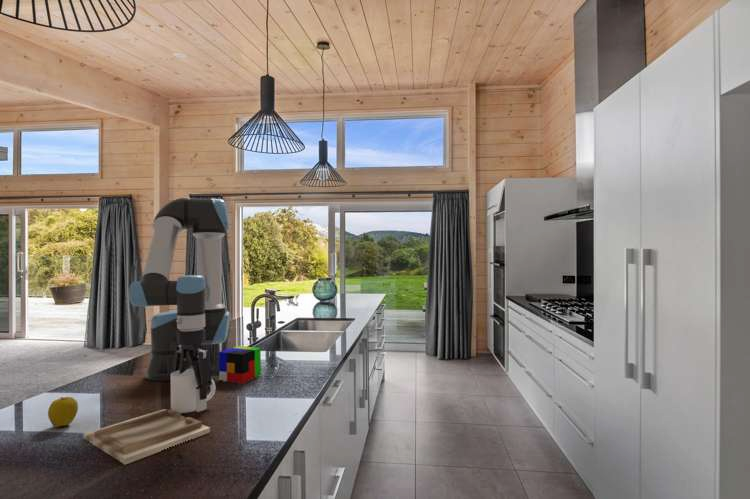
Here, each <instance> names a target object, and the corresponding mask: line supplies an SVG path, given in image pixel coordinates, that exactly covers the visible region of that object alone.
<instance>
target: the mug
mask: <svg viewBox="0 0 750 499" xmlns="http://www.w3.org/2000/svg"><path fill="white" fill-rule="evenodd" d="M211 380H212V385H211V386H210V392H209V394H207V398H206V402H208V401H209V400H211V399H212V398H213V397H214V395H215V393H216V383H215V381H214V380H213V378H211ZM207 382H208V381H207ZM196 387H198V385H197V381H196V378H195V374H194V370H193V368H192V369H187V370H186V371H184V372H183V373H181V374H180V370H178V371H175V372H173V373H171V380H170V409H172V410H174V411H177V412H179V413H181V414H187V413H192V412H196Z"/></svg>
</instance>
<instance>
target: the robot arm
mask: <svg viewBox="0 0 750 499" xmlns="http://www.w3.org/2000/svg"><path fill="white" fill-rule="evenodd" d="M229 220H230V219H229V213H228V207H227V204H226V201H225V200H224V199H221V198H213V197H211V198H210V197H207V198H205V197H204V198H203V197H197V198H196V197H195V198H193V197H192V198H190V197H180V198H176V199H173V200H171V201H169V202H168V203H167V204H165V205H163V207H161V209H159V210H158V212H157V214H156V215H155V217H154V219H153V223H152V229H153V231H154V232H153V235H152V239H151V243H150V246H149V250H148V254H147V257H146V260H145V265H144V269H143V272H142V276H141V279H140V280H138V281H133V282H132V283H131V284H130V286H129V289H128V299H129V302H130V304H131V306H134V307H145V308H146V307H155V306H157V307H159V306H176V309H173V310H168V311H162V312H159V313H156V314H154V315H152V317H151V321H150V322H151V323H150V346H151V347H150V349H151V350H150V351H151V353H150V354H151V355H150V358H149V362H148V363H147V364H148V365H147V367H146V371H145V379H146V380H148V381H153V382H166V381H171V373H173V372H175V371H178V370H180V374H181V373H183V372H184V371H186V370H187V369H193V370H194V374H195V378H196V381H197V385H198V387H196V411H195V412H197V413H200V412H203V411H205V410H207V409H208V408H207V401H206V398H207V395H208V394H207V393H208V391H207V389H208V387H211V385H212V380H213V379H212V375H211V369H210V368H211V367H210V360H209V356H210V355H209V352H210V351H209V350H208V349H205V350H204V349H203V347H202V345H213V346H214V345H216V344H217V345H218V344H223V343H225V342H226V340H227V337H228V331H229V327H230V318H231V317H230V316H231V313H230V311H228V310H226V307H227V306H226V305H225V304H223V303H222V239H223V238H224V237H225V235H226V231H228V230H230V221H229ZM183 230H189V231H190V230H192V231H191V234H192V236H193V237H194V238H195V239H196V274H195V275H193V274H189V275H188V274H187V275H179V276H178V277H177V279H176V280H169V278H170V273H171V269H172V264H173V259H174V256H175V250H176V245H177V241H178V236H179V235H180V234H181V233H182V231H183ZM211 379H212V380H211ZM207 381H208V382H207Z"/></svg>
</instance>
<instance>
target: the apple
mask: <svg viewBox="0 0 750 499" xmlns="http://www.w3.org/2000/svg"><path fill="white" fill-rule="evenodd" d="M78 409H79V405H78V401H77V400H76V399H75V398H73V397H71V396H65V397H63V396H61V397H59V398H57V399H55V400H54V401H53V402H51V404H50V405H49V407H48V409H47V410H48V411H47V417H48V419H49V421H50V424H51V425H52V426H54V427H55V428H56V427H57V428H58V427H63V426H64V427H65V426H68V425H70V424H71V423H72V422H73V421H74V420H75V418H76V416H77V414H78Z"/></svg>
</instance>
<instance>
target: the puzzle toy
mask: <svg viewBox="0 0 750 499" xmlns="http://www.w3.org/2000/svg"><path fill="white" fill-rule="evenodd" d="M261 352H262V351H261V347H253V346H252V347H251V346H242V345H237V346H234V347H231V348H228V349H223V350H220V351H219V352H218V374H219V376H218V380H223V381H222V382H227V381H231V382H230V383H234V382H240V383H239V384H242V383H243V382H245V383H247V382H249V381H248V380H250V379H252V378H254V379H256V378H255V377H257V376H259V375H261V376H262V368H261V366H262V365H261V364H262V360H261V358H262V357H261V356H262V355H261ZM259 377H260V376H259ZM257 378H258V377H257ZM252 380H253V379H252ZM246 381H247V382H246ZM250 381H251V380H250ZM243 384H244V383H243Z"/></svg>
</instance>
